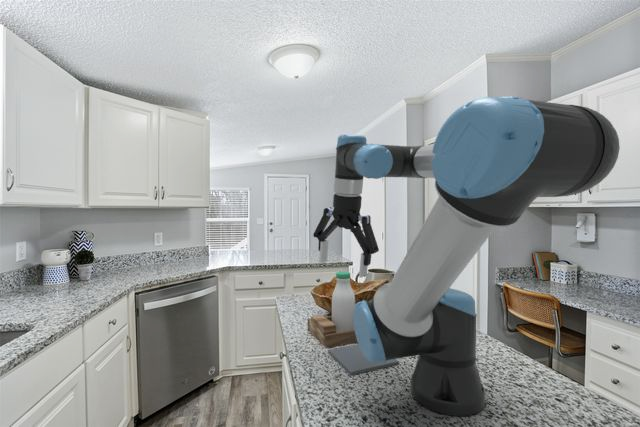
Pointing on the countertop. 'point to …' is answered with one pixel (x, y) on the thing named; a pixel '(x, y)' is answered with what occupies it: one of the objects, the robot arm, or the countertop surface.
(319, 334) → the frame
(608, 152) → the robot arm
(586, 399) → the countertop surface
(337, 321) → the milk bottle
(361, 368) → the rubber mat
